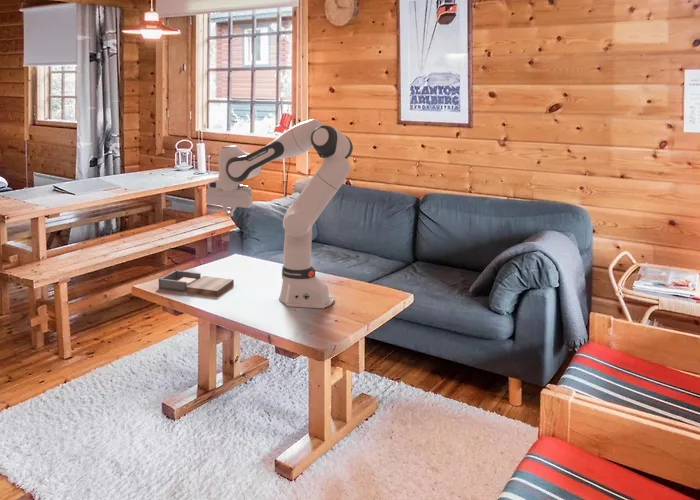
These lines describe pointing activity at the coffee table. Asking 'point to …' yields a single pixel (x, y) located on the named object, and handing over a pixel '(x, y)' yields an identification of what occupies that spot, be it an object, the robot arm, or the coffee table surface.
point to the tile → (187, 280)
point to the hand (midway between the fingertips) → (229, 216)
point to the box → (172, 279)
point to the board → (209, 286)
